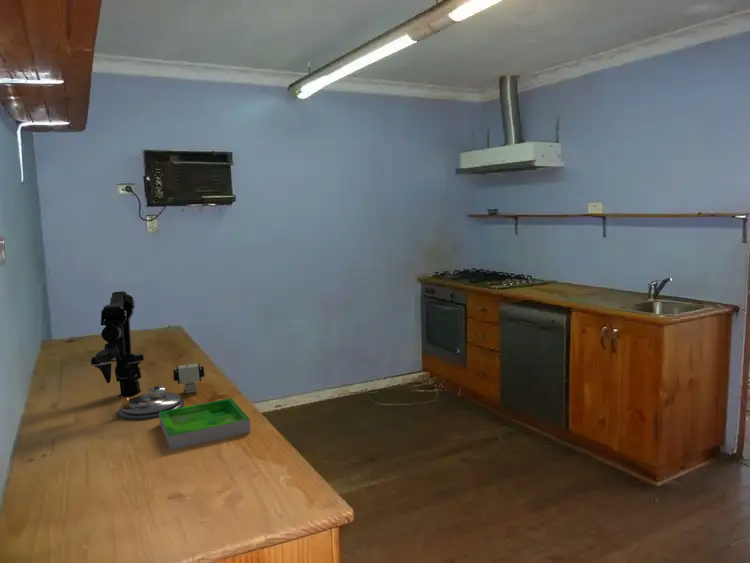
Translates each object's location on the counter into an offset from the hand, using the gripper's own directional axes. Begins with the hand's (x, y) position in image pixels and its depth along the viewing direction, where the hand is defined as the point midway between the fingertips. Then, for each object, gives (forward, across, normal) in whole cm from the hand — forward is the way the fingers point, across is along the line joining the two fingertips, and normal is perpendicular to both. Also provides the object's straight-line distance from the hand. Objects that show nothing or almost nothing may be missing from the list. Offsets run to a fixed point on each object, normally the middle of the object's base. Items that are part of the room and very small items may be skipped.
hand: (119, 382), depth 209 cm
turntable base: (+11, +8, +7) cm, 15 cm away
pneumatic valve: (+9, +12, +27) cm, 31 cm away
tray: (+16, +39, -8) cm, 43 cm away
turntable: (+10, +8, +7) cm, 14 cm away
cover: (+8, +7, +12) cm, 16 cm away
